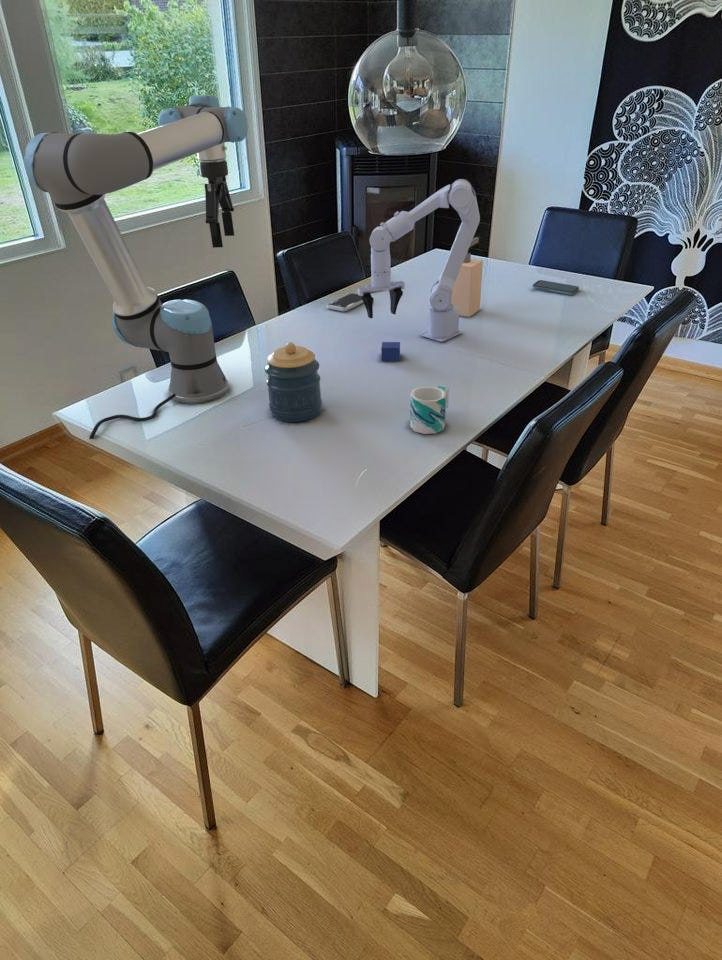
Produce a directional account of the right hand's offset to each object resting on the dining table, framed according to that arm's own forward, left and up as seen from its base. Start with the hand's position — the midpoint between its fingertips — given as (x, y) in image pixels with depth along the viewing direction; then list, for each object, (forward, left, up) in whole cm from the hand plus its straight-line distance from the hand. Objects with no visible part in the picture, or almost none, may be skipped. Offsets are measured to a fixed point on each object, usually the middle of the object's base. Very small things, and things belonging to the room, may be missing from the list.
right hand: (381, 315), depth 204 cm
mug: (+35, +48, -6) cm, 60 cm away
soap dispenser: (-35, +6, -6) cm, 36 cm away
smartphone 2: (-71, +18, -6) cm, 74 cm away
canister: (+52, +19, -6) cm, 56 cm away
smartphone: (-14, -29, -6) cm, 33 cm away
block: (+12, +14, -6) cm, 20 cm away
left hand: (+31, -33, +23) cm, 51 cm away
